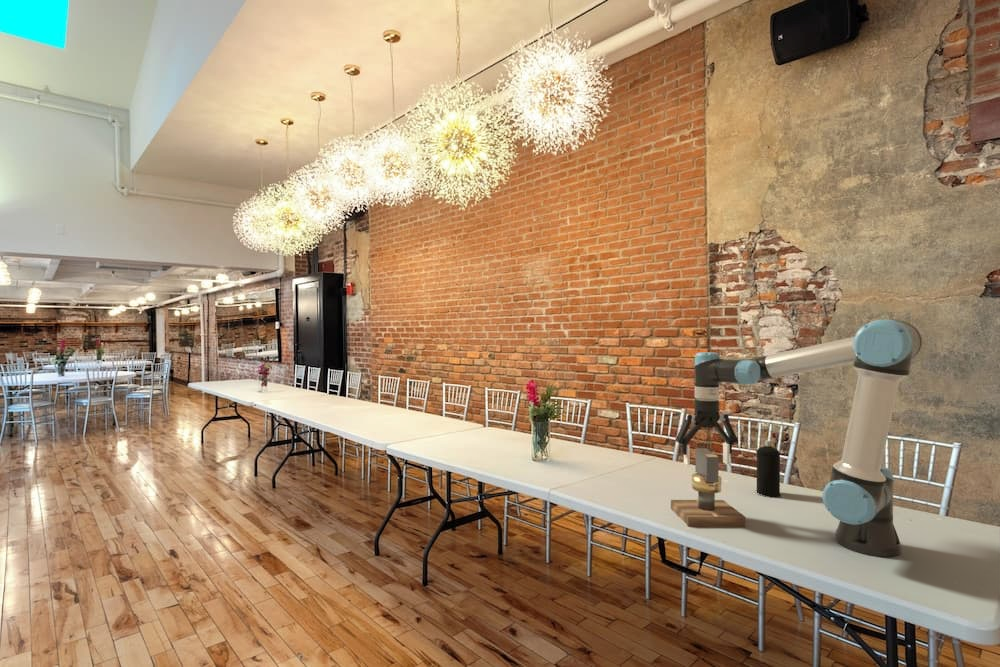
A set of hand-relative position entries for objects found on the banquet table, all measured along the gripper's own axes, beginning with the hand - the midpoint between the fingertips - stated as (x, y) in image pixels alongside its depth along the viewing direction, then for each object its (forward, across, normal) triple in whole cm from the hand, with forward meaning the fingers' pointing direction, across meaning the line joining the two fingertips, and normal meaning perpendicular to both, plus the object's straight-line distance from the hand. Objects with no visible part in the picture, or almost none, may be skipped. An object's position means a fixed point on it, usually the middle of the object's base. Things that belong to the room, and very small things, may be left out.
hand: (706, 464), depth 167 cm
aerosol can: (+18, +35, +21) cm, 44 cm away
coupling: (+8, 0, 0) cm, 8 cm away
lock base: (+17, 0, 0) cm, 17 cm away
